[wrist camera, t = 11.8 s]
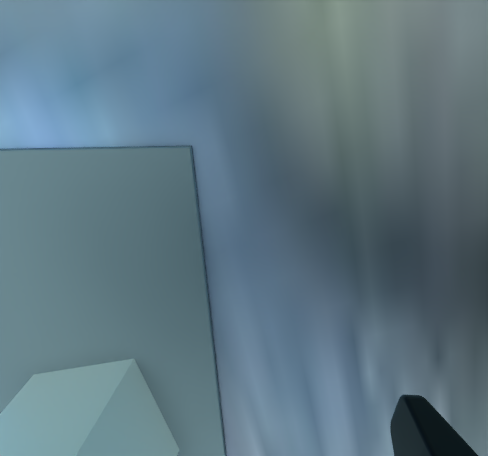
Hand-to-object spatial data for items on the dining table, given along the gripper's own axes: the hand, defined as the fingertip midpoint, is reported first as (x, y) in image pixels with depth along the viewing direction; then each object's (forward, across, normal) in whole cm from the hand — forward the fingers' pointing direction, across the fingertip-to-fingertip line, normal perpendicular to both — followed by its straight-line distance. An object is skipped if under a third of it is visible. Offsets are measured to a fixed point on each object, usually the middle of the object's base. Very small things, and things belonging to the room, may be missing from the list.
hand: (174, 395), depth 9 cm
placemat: (+12, +6, +12) cm, 18 cm away
